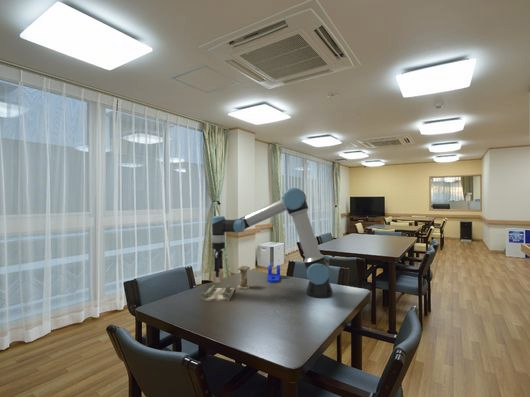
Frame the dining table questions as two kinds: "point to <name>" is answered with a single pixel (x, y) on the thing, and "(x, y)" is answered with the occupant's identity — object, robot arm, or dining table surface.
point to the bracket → (273, 275)
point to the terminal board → (218, 294)
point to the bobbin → (243, 277)
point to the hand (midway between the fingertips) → (218, 280)
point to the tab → (220, 277)
